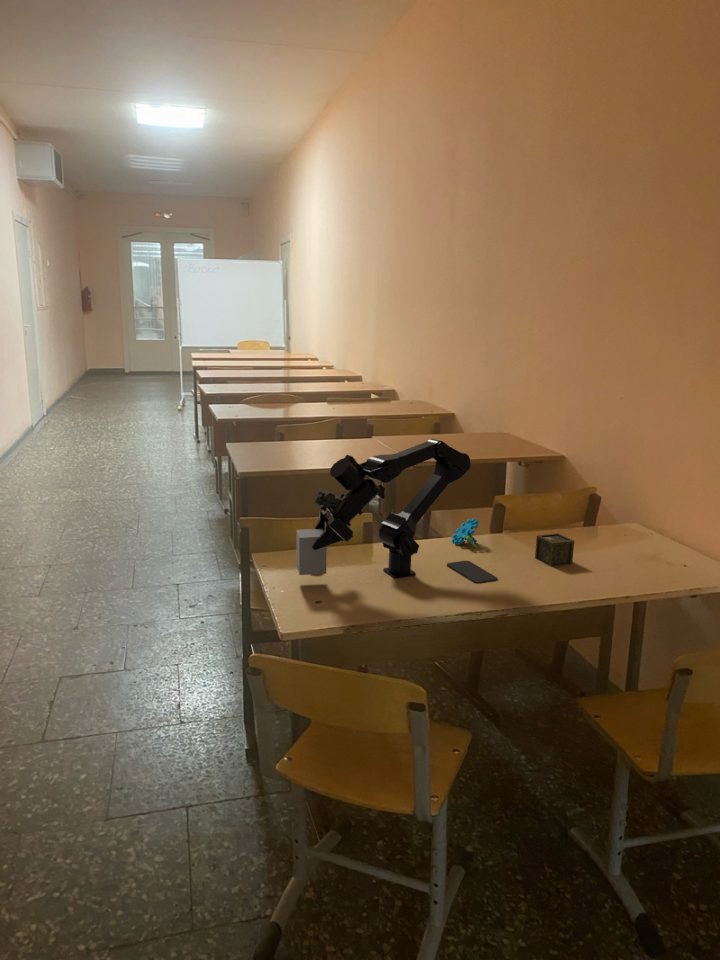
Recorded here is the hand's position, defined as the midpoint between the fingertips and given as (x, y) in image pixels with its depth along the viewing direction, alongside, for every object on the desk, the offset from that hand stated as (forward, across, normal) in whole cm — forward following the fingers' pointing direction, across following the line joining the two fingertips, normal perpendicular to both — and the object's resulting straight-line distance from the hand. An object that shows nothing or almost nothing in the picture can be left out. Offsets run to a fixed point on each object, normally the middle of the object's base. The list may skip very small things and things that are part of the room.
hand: (311, 544), depth 174 cm
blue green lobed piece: (-27, -27, +43) cm, 57 cm away
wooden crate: (-41, -9, +57) cm, 71 cm away
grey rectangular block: (+5, 0, +5) cm, 7 cm away
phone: (-22, -3, +38) cm, 45 cm away
